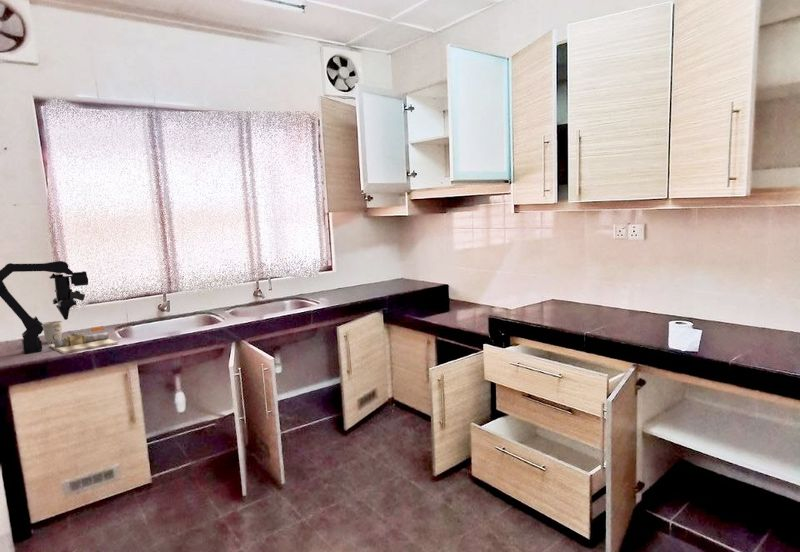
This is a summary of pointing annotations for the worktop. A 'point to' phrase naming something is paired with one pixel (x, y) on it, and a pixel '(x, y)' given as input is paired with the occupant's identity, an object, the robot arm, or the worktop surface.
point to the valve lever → (88, 330)
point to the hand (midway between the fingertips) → (66, 319)
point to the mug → (52, 331)
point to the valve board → (84, 346)
